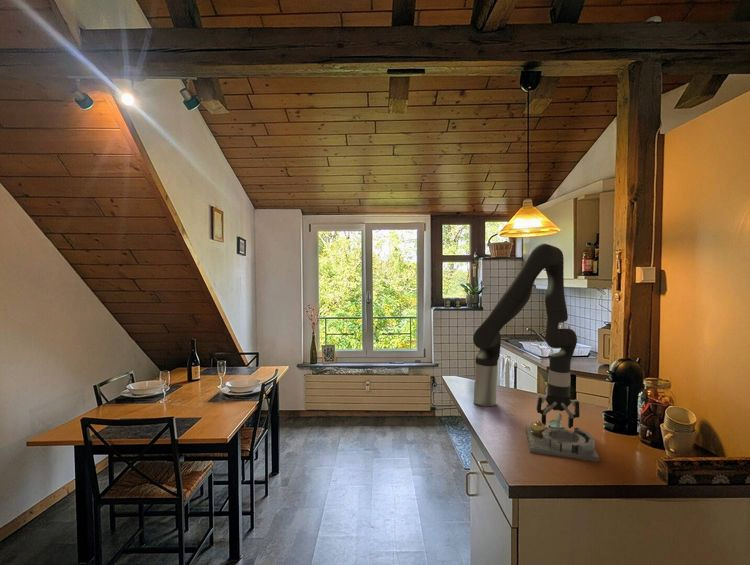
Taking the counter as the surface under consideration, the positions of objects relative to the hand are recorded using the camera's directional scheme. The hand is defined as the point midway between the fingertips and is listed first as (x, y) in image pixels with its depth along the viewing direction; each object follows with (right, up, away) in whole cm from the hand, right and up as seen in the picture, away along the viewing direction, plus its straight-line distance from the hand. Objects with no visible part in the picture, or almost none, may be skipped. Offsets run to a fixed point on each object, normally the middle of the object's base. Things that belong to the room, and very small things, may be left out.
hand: (556, 426), depth 152 cm
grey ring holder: (-5, -2, -13) cm, 14 cm away
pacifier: (-1, -2, 0) cm, 2 cm away
